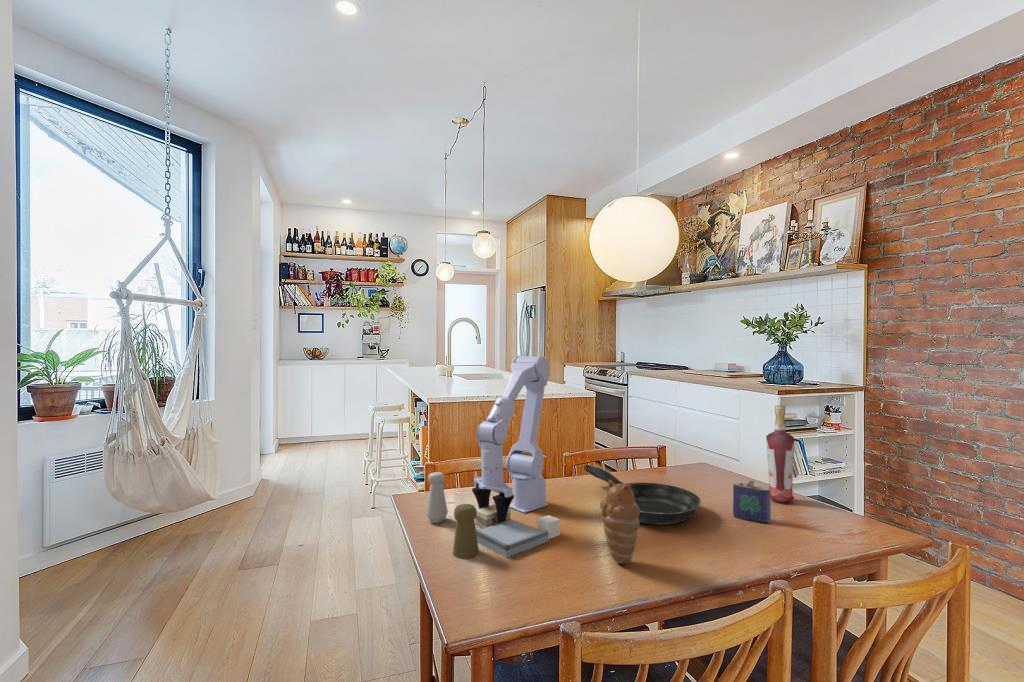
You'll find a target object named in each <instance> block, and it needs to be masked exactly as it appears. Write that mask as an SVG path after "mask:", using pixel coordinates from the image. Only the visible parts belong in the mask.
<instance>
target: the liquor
mask: <svg viewBox="0 0 1024 682" xmlns="http://www.w3.org/2000/svg"><path fill="white" fill-rule="evenodd" d="M774 414H775V422H774V423H775V424H774V431H773V432H770V433H769V434H767V435H766V436H765V439H766V455H767V467H768V468H767V470H768V487H769V489H770V491H771V493H770V500H772V501H773V502H775V503H778V504H788V503H791V502H792V501H793V500H794V499H795V496H794V495H793V481H794V479H793V477H794V476H793V475H794V462H795V461H794V457H795V437H794V436H793V435H792V434H790V433H788V432H787V431H786V429H787V428H786V420H785V416H786V415H785V414H786V405H774Z"/></svg>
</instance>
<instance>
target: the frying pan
mask: <svg viewBox="0 0 1024 682" xmlns="http://www.w3.org/2000/svg"><path fill="white" fill-rule="evenodd" d="M583 468H584V471H586V472H588V474H589V475H591V476H593V477H595V478H597V479H599V480H601V481H604V482H605V483H607V484H608V485H609V480H611V481H613V482H614V483H615V484H625V485H627V484H631V490H632V491H633V493H634V498H635V502H636V503H637V505H638V507H639V509H640V514H639V516H638V519H639V523H641V524H642V523H643V524H647V525H657V526H658V525H660V526H661V525H673V524H677V523H682V522H685V521H686V520H688V519H689V518H690V517H692V516H693V515H694V514H695V512H696V510H697V508H699V507H700V505H701V501H702V500H701V498H700V497H699V496H698V495H697V494H695V492H692V491H690V490H688V489H685V488H681V487H678V486H675V485H671V484H663V483H659V482H658V483H657V482H656V483H655V482H629V483H623V482H622V481H620V480H619V479H618V478H617V477H615V476H614V475H613V474H611V473H610V472H608V471H606V470H604V469H602V468H600V467H597V466H594V465H588V464H586V465H584V466H583ZM608 491H609V489H608V490H607V492H606V494H607V493H608Z"/></svg>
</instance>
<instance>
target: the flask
mask: <svg viewBox="0 0 1024 682" xmlns="http://www.w3.org/2000/svg"><path fill="white" fill-rule="evenodd" d="M732 488H733V492H732V493H733V498H732V499H733V500H732V501H733V502H732V505H733V506H732V511H733V512H732V514H733V517H734V518H735V519H739V520H742V521H747V522H751V523H758V524H763V525H764V524H766V525H769V524H771V523H772V522H771V521H772V520H771V511H772V510H771V509H772V508H771V498H770V493H771V491H770V489H769V488H768V487H763V486H762V487H761V486H756V485H755V479H754V480H753V479H747V483H745V482H742V481H740V482H735V483H733V486H732Z"/></svg>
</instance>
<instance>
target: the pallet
mask: <svg viewBox="0 0 1024 682" xmlns="http://www.w3.org/2000/svg"><path fill="white" fill-rule="evenodd" d="M476 511H477V514H476V518H475V519H474V521H475V526H476V525H477V527H478V526H479V528H481V529H484V528H487V527H490V526H492V525H496V524H499V522H498V520H497V510H496V505H495V504H491V505H489V506H488V507H485V508H481V509H479V508H478V509H476ZM511 515H512V514H511V507H509V509H508V512H507V516H506V521H508V520H512V518H511ZM504 522H505V521H504Z"/></svg>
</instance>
